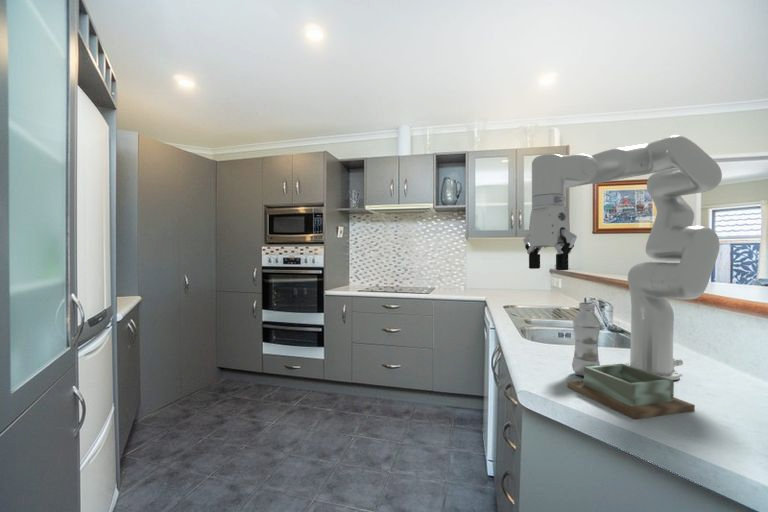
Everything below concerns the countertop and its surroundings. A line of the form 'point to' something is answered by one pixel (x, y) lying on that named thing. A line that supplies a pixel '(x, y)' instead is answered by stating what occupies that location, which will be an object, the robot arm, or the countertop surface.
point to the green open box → (630, 391)
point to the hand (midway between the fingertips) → (547, 269)
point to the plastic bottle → (585, 338)
